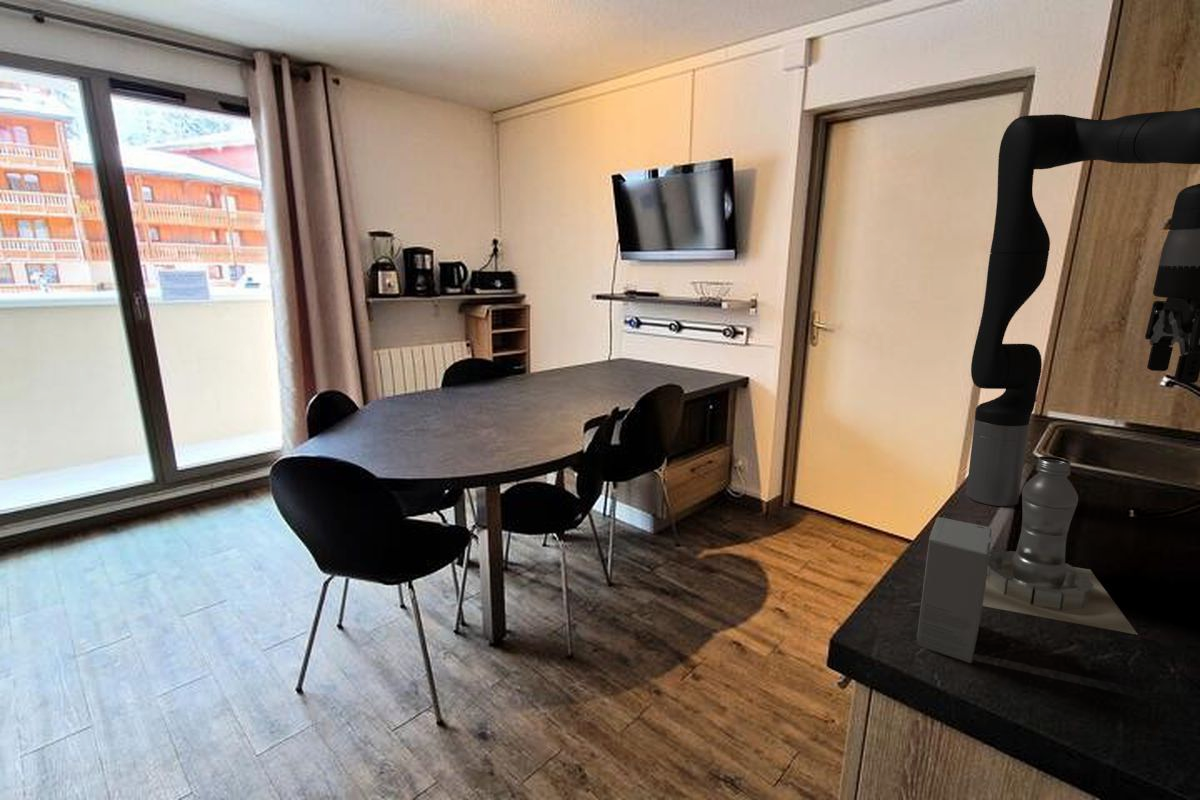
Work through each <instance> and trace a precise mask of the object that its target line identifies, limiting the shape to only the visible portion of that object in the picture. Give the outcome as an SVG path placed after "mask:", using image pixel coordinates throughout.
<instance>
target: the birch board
mask: <svg viewBox="0 0 1200 800" xmlns="http://www.w3.org/2000/svg"><path fill="white" fill-rule="evenodd" d="M991 554H992V553H991ZM991 554H990V553H989V556H990V555H991ZM1073 567H1074V568H1076V569H1078V570H1080V571H1082V572H1083V573H1085V574H1086V575H1087V576H1088V578H1089V579H1090V580H1091V582H1092V583H1093V590H1092V596H1091V601H1090V602H1089V603H1088V604H1087V605H1086V606H1085V607H1084V608H1082V609H1072V610H1061V609H1060V610H1056V609H1050V608H1045V607H1039V606H1034V605H1033V604H1031V605H1030V604H1027V603H1025V602H1022V601H1019V600H1017V599H1014V598H1012V597H1009V596H1006V594H1003V593H1001V592H1000V591H998V590H997V589H996V588H994V587H993V586H991V585H990V584H989V583H988V582H987V580H986V587H985V593H984V599H983V605H982V607H986V608H991V609H996V610H997V609H998V610H1001V611H1002V610H1003V611H1006V612H1007V611H1008V612H1013V613H1018V614H1023V615H1028V616H1033V617H1034V616H1035V617H1039V618H1040V617H1041V618H1043V619H1044V618H1045V619H1050V620H1056V621H1060V622H1061V621H1062V622H1067V623H1072V624H1078V625H1082V626H1088V627H1094V628H1099V629H1103V630H1104V629H1105V630H1109V631H1116V632H1119V633H1120V632H1121V633H1126V634H1132V635H1135V636H1137V635H1138V633H1137V631H1136V630H1135V628H1134V627H1133V626H1132V624H1131V623H1130V622H1129V620H1128V619H1127V618H1126V616H1125V615H1124V613H1123V612H1122V611H1121V610H1120V608H1119V606H1118V605H1117V604H1116V603H1115V601H1114V600H1113V598H1112V597H1111V596H1110V594H1109V593H1108V591H1106V589H1105V588H1104V587H1103V585H1102V584H1101V582H1100V581H1099V580H1098V579H1097V577H1096V576H1095V574H1094V572H1092V570H1091V569H1089V568H1081V567H1075V566H1073ZM1001 571H1003V572H1005V573H1006V574H1008V575H1009V576H1011V577H1012V578H1015V577H1014V576H1013V574H1012V569H1007V570H1001ZM1059 589H1072V587H1070V586H1069V585H1067V584H1065V583H1063V586H1062V587H1061V588H1059ZM1138 636H1139V635H1138Z"/></svg>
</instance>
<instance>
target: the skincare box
mask: <svg viewBox="0 0 1200 800" xmlns="http://www.w3.org/2000/svg"><path fill="white" fill-rule="evenodd" d="M992 541H993V539H992V527H990V526H987V525H982V524H975V523H972V522H965V521H961V520H956V519H950V518H946V517H941V516H937V517H936V519H935V522H934V525H933V528H932V529H931V531H930V534H929V538H928V546H927V554H926V562H925V568H924V569H925V570H924V578H923V587H922V594H921V601H920V611H919V619H918V620H919V621H918V626H917V627H918V628H917V636H916V639H917V640H916V642H915V644H916V647H919V646H920V647H919V648H922V647H923V648H922V649H926V650H929V651H930V652H931V651H932V652H935V653H937V654H941V655H944V656H948V657H950V658H953V659H956V660H959V661H963V662H965V663H968V664H971V663H973V659H974V658H973V657H974V654H975V650H976V649H975V648H976V644H977V640H978V634H979V629H980V625H981V624H980V623H981V617H982V611H983V606H982V605H983V599H984V593H985V587H986V579H987V571H988V562H989V554H990V551H991V550H990V549H991V543H992Z"/></svg>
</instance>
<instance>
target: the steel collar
mask: <svg viewBox="0 0 1200 800" xmlns="http://www.w3.org/2000/svg"><path fill="white" fill-rule="evenodd" d="M1015 552H1016V550H1015V551H1014V550H1009V551H1008V550H1006V551H996V552H993V553H991V555H990V556H989V562H988V571H987V579H986V580H987V582H988V583H989V584H990V585H991V586H993V587H994V588H996V589H997V590H998V591H1000V592H1001V593H1003V594H1006V596H1009V597H1012V598H1014V599H1017V600H1019V601H1022V602H1025V603H1027V604H1030V605H1031V604H1033V605H1034V606H1039V607H1045V608H1050V609H1056V610H1060V609H1061V610H1072V609H1082V608H1084V607H1085V606H1086V605H1087V604H1088V603H1089V602H1090V601H1091V596H1092V590H1093V583H1092V582H1091V580H1090V579H1089V578H1088V576H1087V575H1086V574H1085V573H1083V572H1082V571H1080V570H1078V569H1076V568H1074V567H1075V566H1072V565H1071V564H1069V563H1066V562H1065V565H1066V579H1065V581H1064V583H1065V584H1067V585H1069V586H1070V587H1072V589H1052V588H1046V587H1040V586H1034V585H1031V584H1029V583H1026V582H1023V581H1020V580H1017V579H1015V578H1012V577H1011V576H1009V575H1008V574H1006V573H1005V572H1003V571H1001V570H1007V569H1012V568H1011V562H1012V559H1013V556H1014V554H1015Z"/></svg>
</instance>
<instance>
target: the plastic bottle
mask: <svg viewBox="0 0 1200 800" xmlns="http://www.w3.org/2000/svg"><path fill="white" fill-rule="evenodd" d="M1071 465H1072V464H1071V461H1070V460H1068V459H1066V458H1063V457H1058V456H1052V455H1050V456H1049V455H1042V456H1039V457H1038V460H1037V465H1036V466H1035V469H1036V471H1037V473H1036V474H1035V475H1034V476H1033V477H1031V478H1029V480H1028V481H1027V482H1026V483H1025V485H1024V486H1023V487H1022V490H1021V501H1022V503H1021V505H1022V516H1021V517H1022V518H1021V519H1022V520H1021V524H1022V525H1021V529H1020V530H1021V532H1020V535H1019V539H1018V543H1017V547H1016V550H1015V551H1016V552H1015V551H1014V552H1015V554H1014V556H1013V559H1012V562H1011V568H1012V574H1013V576H1014V577H1015V579H1017V580H1020V581H1023V582H1026V583H1029V584H1031V585H1034V586H1040V587H1046V588H1052V589H1059V588H1061V587H1062V586H1063V583H1064V581H1065V579H1066V565H1065V563H1066V548H1067V547H1066V545H1067V538H1068V532H1069V529H1070V525H1071V522H1072V519H1073V517H1074V514H1075V512H1076V508H1077V507H1078V502H1079V497H1078V492H1077V491H1076V489H1075V487H1074V485H1073V484H1072V482H1071V481H1070V480H1069V479H1068V476H1071V470H1070V469H1071Z"/></svg>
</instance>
